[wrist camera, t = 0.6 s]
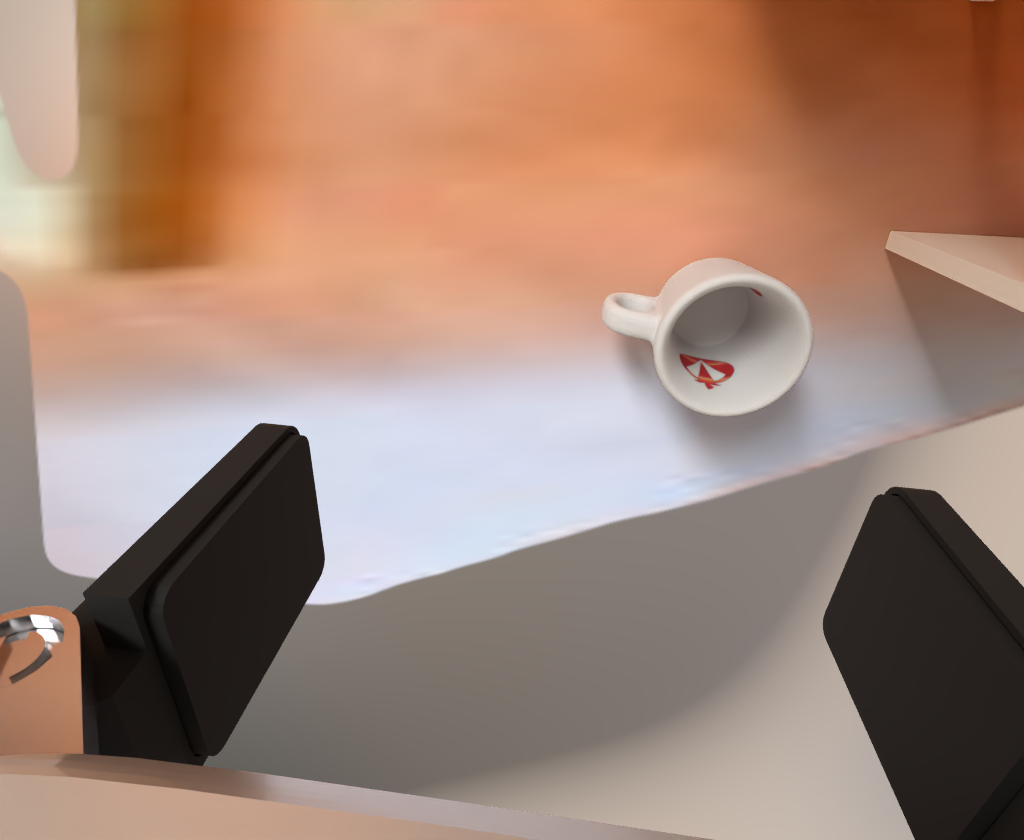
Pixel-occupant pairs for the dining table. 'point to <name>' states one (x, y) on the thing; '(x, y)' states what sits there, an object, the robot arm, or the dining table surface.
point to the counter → (969, 260)
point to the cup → (719, 335)
